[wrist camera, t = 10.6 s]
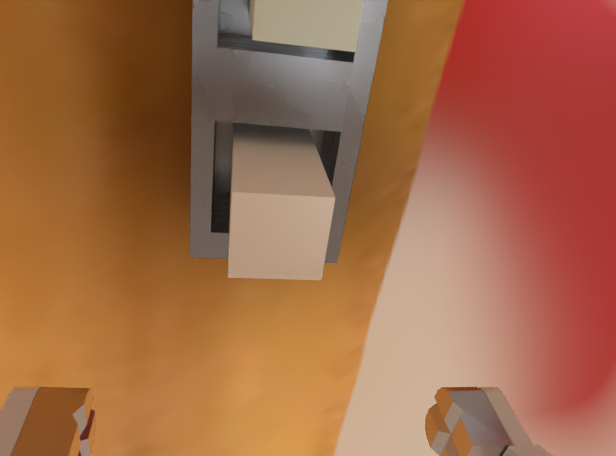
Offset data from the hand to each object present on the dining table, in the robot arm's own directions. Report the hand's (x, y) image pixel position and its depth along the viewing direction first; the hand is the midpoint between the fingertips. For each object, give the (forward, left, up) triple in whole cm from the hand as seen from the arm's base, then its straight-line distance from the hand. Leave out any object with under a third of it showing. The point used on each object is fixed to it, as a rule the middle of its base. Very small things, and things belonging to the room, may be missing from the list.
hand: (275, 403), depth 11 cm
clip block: (0, +1, -15) cm, 15 cm away
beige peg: (-7, +4, -15) cm, 17 cm away
